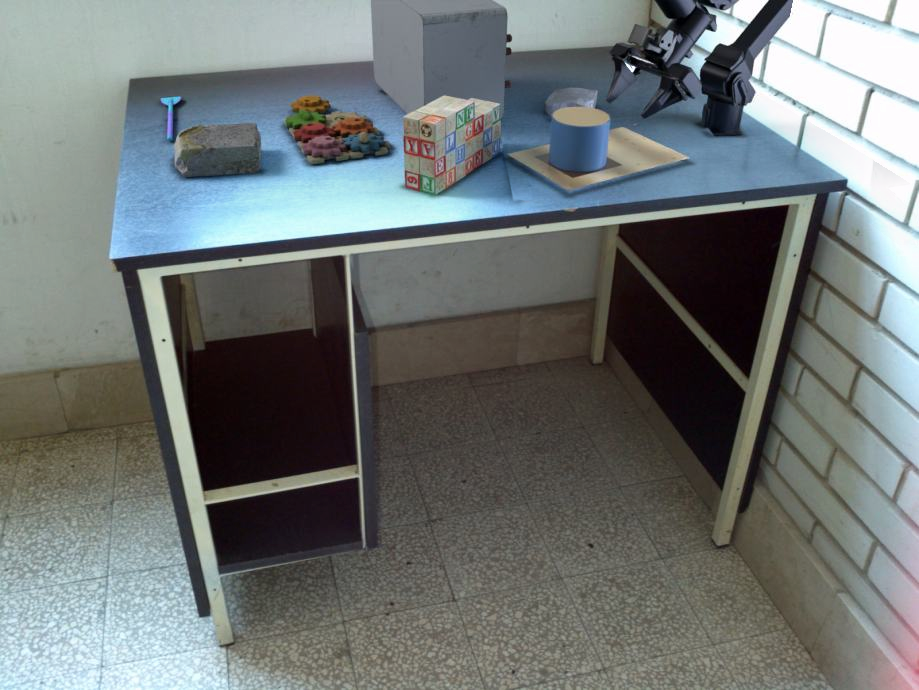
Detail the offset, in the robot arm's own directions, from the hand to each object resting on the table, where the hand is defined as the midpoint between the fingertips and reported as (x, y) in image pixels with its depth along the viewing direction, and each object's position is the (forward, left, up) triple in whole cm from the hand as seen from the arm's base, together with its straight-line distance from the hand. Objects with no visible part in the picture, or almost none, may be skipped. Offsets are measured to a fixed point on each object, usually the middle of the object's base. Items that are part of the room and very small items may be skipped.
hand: (624, 109), depth 155 cm
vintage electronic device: (+32, -27, -9) cm, 43 cm away
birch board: (+4, +3, -9) cm, 10 cm away
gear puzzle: (+53, -13, -9) cm, 55 cm away
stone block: (+6, -23, -9) cm, 25 cm away
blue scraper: (+85, -19, -9) cm, 87 cm away
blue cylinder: (+8, +5, -7) cm, 12 cm away
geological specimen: (+71, +3, -9) cm, 72 cm away
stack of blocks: (+30, +6, -9) cm, 32 cm away
